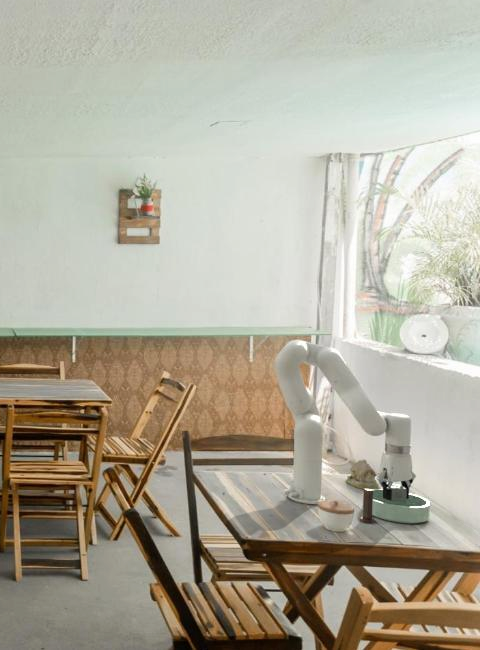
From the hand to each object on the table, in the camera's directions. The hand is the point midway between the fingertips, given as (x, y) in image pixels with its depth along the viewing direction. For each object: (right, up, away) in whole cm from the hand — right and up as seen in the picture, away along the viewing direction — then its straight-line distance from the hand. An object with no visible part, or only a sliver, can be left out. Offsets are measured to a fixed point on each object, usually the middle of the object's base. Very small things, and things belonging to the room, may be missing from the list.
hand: (395, 497), depth 239 cm
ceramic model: (+8, -4, +32) cm, 33 cm away
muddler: (-15, -6, -9) cm, 18 cm away
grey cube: (0, -1, 0) cm, 1 cm away
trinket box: (-30, -6, -15) cm, 34 cm away
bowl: (-1, -5, -2) cm, 6 cm away
